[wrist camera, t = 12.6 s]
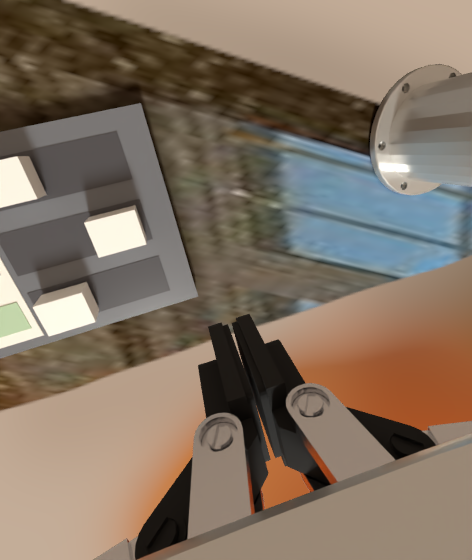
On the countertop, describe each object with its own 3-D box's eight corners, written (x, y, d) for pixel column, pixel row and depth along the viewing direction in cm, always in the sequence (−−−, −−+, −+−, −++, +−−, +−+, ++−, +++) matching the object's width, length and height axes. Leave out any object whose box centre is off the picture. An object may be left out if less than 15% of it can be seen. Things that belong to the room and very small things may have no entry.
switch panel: (140, 105, 27) (140, 102, 25) (195, 290, 34) (198, 297, 33) (-126, 160, 23) (-144, 160, 22) (0, 351, 31) (-7, 361, 29)
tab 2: (86, 281, 29) (81, 292, 27) (99, 309, 30) (95, 321, 28) (41, 295, 28) (32, 307, 26) (56, 322, 29) (48, 336, 27)
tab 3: (135, 205, 27) (134, 209, 25) (146, 237, 29) (146, 244, 26) (89, 217, 27) (83, 222, 25) (102, 249, 28) (98, 257, 26)
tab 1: (29, 156, 24) (17, 156, 22) (46, 194, 25) (37, 198, 23) (-27, 168, 24) (-45, 169, 21) (-6, 207, 25) (-21, 212, 23)
